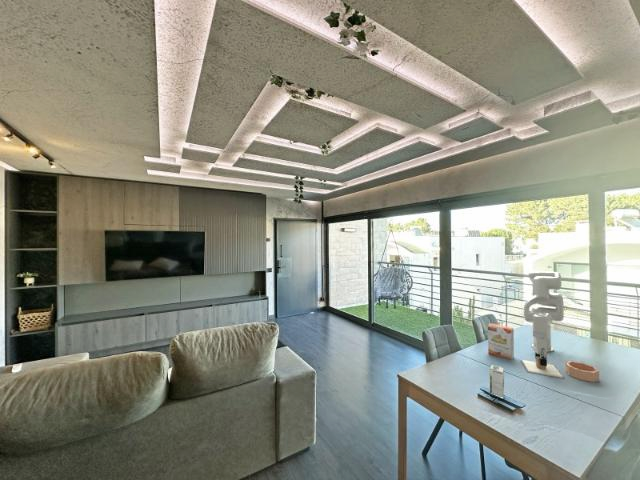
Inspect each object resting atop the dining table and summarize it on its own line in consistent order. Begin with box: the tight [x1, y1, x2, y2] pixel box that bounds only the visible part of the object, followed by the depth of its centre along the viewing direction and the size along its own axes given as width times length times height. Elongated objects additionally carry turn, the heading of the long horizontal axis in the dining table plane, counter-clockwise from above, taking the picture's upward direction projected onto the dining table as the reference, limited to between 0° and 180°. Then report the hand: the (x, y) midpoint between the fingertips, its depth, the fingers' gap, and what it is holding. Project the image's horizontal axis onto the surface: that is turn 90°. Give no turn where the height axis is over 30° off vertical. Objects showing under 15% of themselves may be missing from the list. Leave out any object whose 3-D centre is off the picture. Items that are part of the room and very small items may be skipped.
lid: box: [521, 356, 564, 379], centre depth 162 cm, size 16×16×7 cm
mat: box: [519, 359, 566, 380], centre depth 162 cm, size 18×18×1 cm
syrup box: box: [489, 364, 505, 398], centre depth 136 cm, size 6×6×14 cm
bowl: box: [565, 360, 600, 383], centre depth 153 cm, size 13×13×6 cm
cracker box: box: [487, 323, 515, 360], centre depth 182 cm, size 14×6×21 cm, turn 37°
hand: (540, 362), depth 161 cm, fingers open, 9 cm apart
